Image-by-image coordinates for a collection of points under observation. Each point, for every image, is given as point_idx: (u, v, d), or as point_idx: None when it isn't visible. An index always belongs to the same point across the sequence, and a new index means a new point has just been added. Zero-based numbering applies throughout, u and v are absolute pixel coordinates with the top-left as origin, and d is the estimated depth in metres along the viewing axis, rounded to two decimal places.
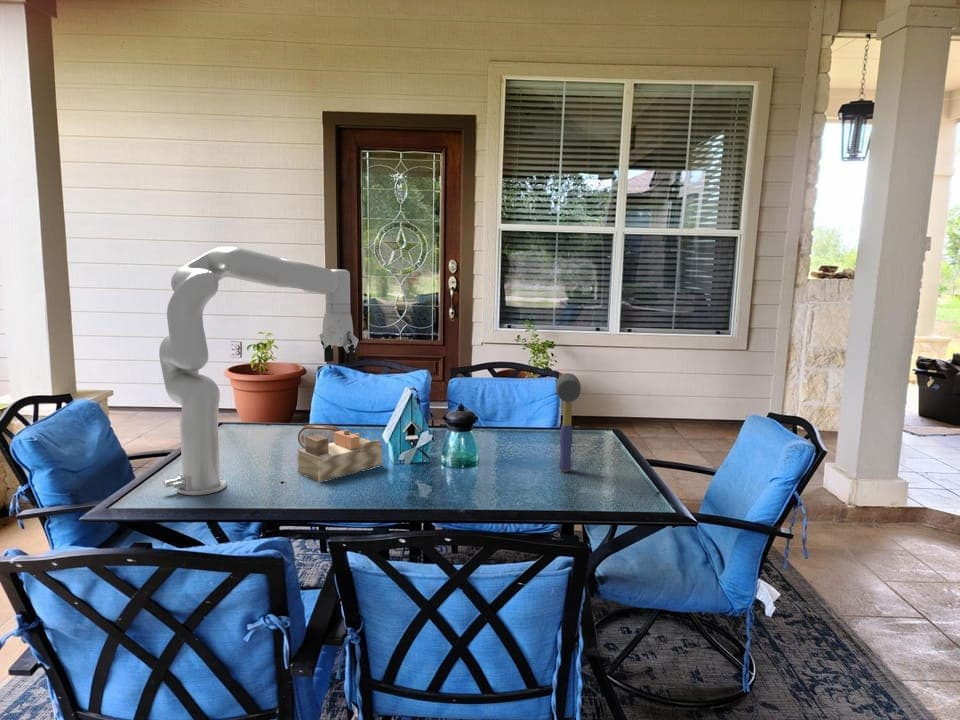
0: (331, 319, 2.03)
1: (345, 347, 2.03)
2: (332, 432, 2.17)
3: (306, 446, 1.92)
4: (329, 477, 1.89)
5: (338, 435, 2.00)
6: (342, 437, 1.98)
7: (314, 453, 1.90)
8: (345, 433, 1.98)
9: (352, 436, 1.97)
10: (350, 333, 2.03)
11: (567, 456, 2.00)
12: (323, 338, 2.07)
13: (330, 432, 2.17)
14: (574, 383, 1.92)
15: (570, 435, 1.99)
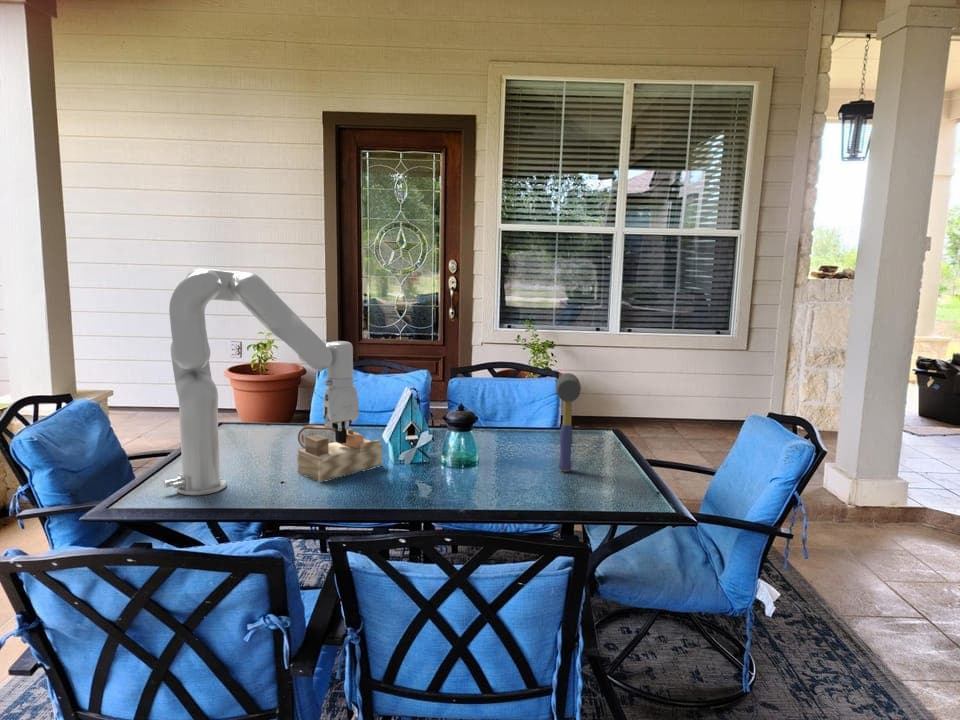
0: (345, 394, 1.94)
1: (347, 423, 1.97)
2: (332, 432, 2.17)
3: (306, 446, 1.92)
4: (329, 477, 1.89)
5: None
6: (347, 437, 1.99)
7: (314, 453, 1.90)
8: (349, 432, 1.99)
9: (356, 435, 1.98)
10: None
11: (567, 456, 2.00)
12: (334, 417, 1.92)
13: (330, 432, 2.17)
14: (574, 383, 1.92)
15: (570, 435, 1.99)
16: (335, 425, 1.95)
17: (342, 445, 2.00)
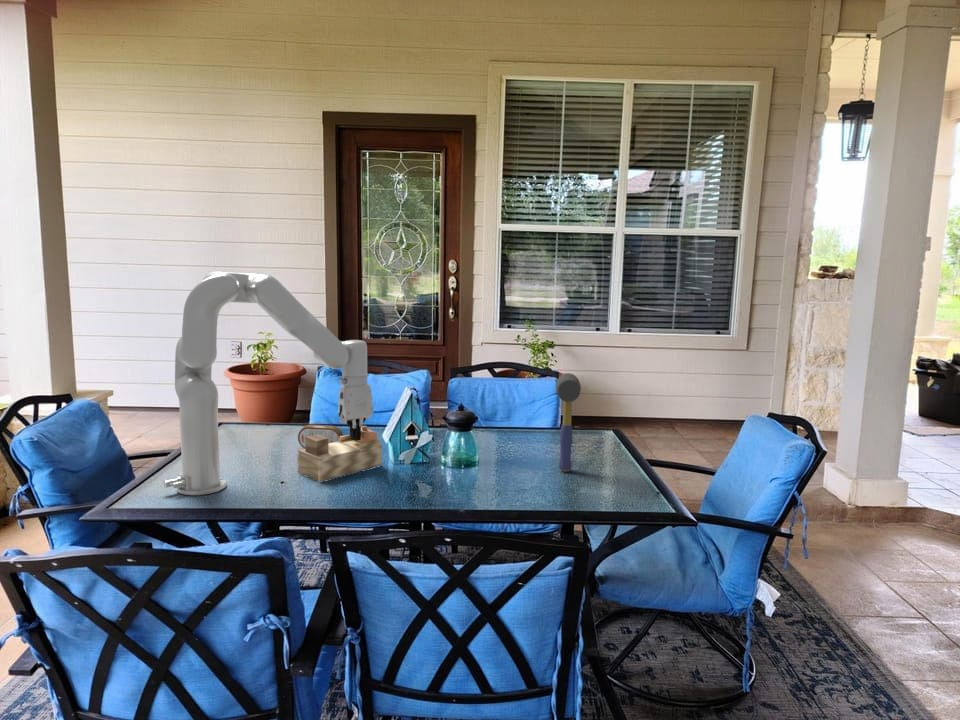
0: (360, 392, 1.98)
1: (361, 421, 2.01)
2: (332, 432, 2.17)
3: (306, 446, 1.92)
4: (329, 477, 1.89)
5: None
6: (361, 434, 2.03)
7: (314, 453, 1.90)
8: (363, 429, 2.03)
9: (370, 432, 2.01)
10: None
11: (567, 456, 2.00)
12: (349, 414, 1.96)
13: (330, 432, 2.17)
14: (574, 383, 1.92)
15: (570, 435, 1.99)
16: (350, 422, 1.99)
17: (342, 445, 2.00)
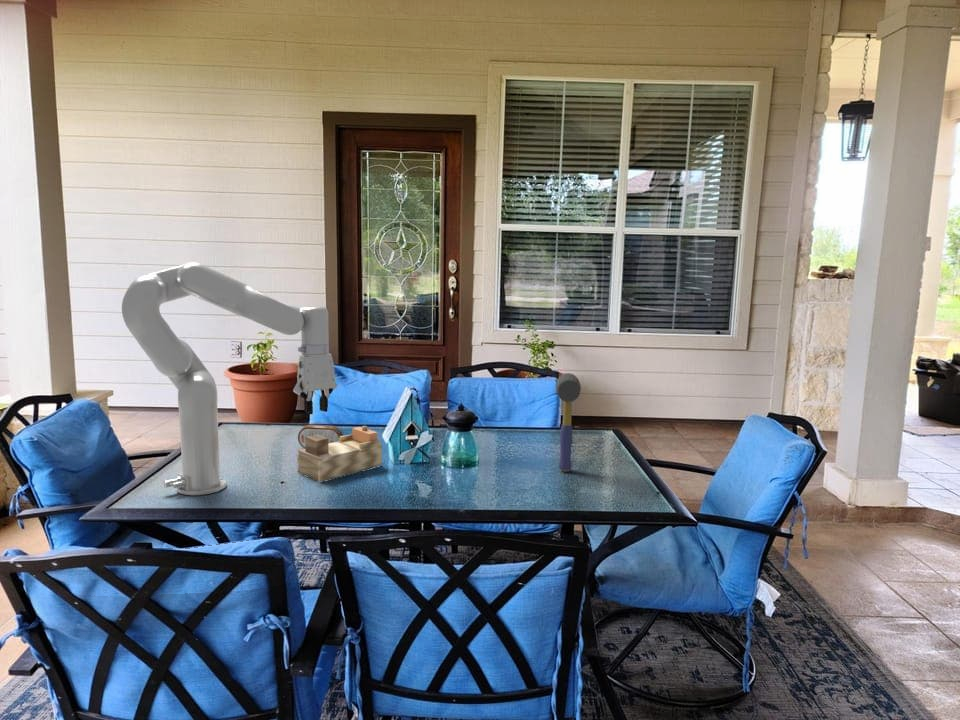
0: (320, 361, 1.86)
1: (327, 391, 1.91)
2: (332, 432, 2.17)
3: (306, 446, 1.92)
4: (329, 477, 1.89)
5: (356, 431, 2.04)
6: (361, 434, 2.03)
7: (314, 453, 1.90)
8: (363, 429, 2.03)
9: (370, 432, 2.01)
10: None
11: (567, 456, 2.00)
12: (308, 385, 1.84)
13: (330, 432, 2.17)
14: (574, 383, 1.92)
15: (570, 435, 1.99)
16: (303, 394, 1.86)
17: (342, 445, 2.00)
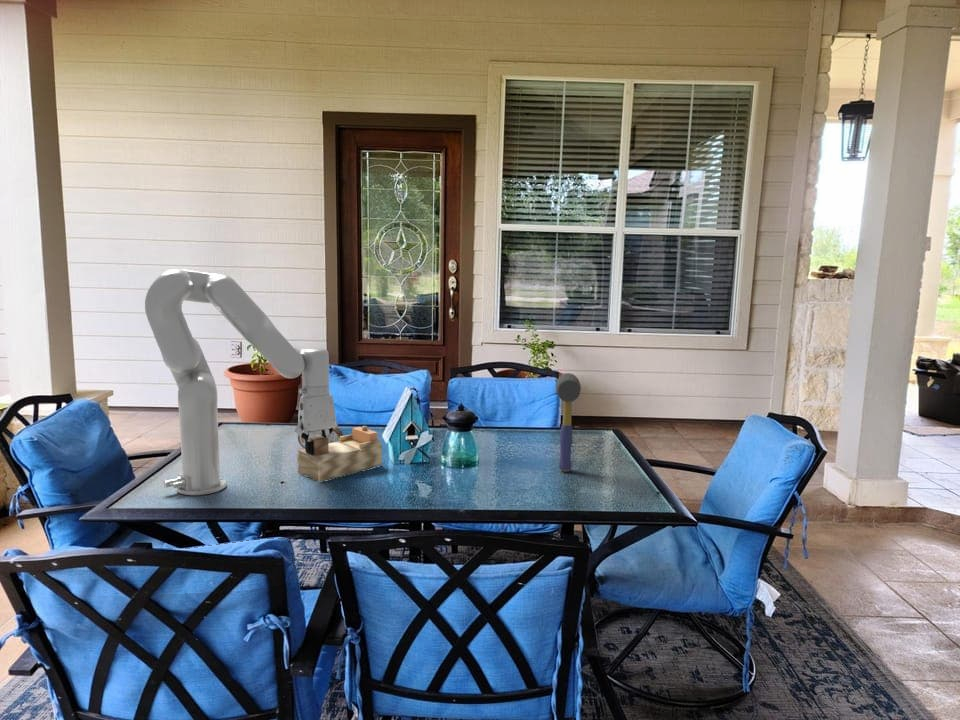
0: (321, 402, 1.88)
1: (327, 431, 1.93)
2: (332, 432, 2.17)
3: None
4: (329, 477, 1.89)
5: (356, 431, 2.04)
6: (361, 434, 2.03)
7: (314, 453, 1.90)
8: (363, 429, 2.03)
9: (370, 432, 2.01)
10: None
11: (567, 456, 2.00)
12: (309, 426, 1.86)
13: None
14: (574, 383, 1.92)
15: (570, 435, 1.99)
16: (305, 435, 1.88)
17: (342, 445, 2.00)
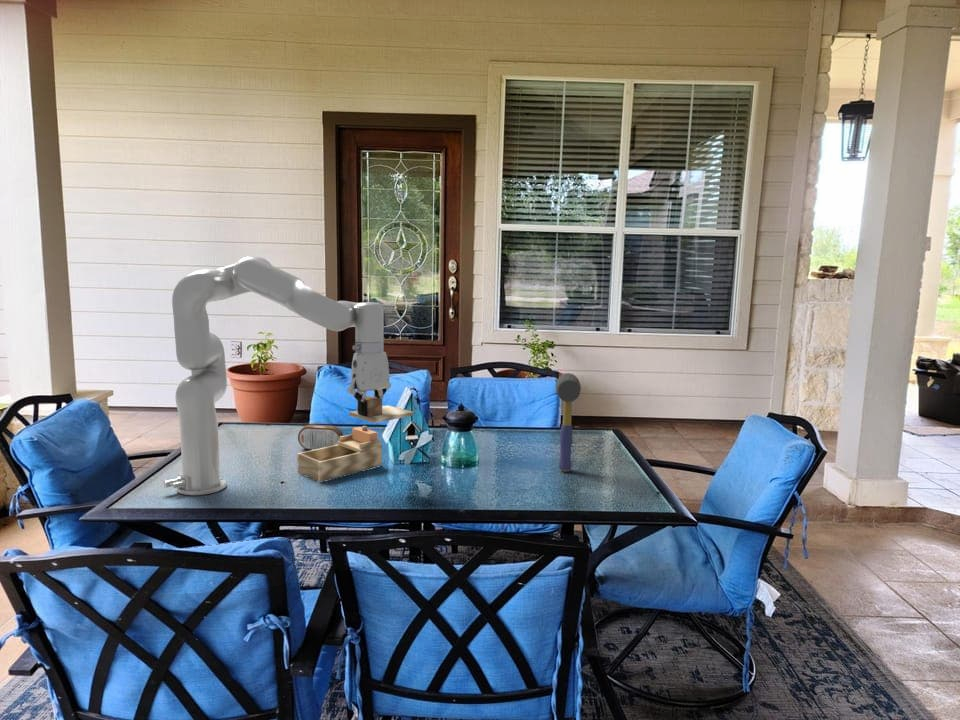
0: (375, 360, 1.77)
1: (381, 392, 1.81)
2: (332, 432, 2.17)
3: None
4: (329, 477, 1.89)
5: (356, 431, 2.04)
6: (361, 434, 2.03)
7: (368, 414, 1.78)
8: (363, 429, 2.03)
9: (370, 432, 2.01)
10: None
11: (567, 456, 2.00)
12: (363, 385, 1.75)
13: (330, 432, 2.17)
14: (574, 383, 1.92)
15: (570, 435, 1.99)
16: (358, 395, 1.76)
17: (394, 408, 1.89)
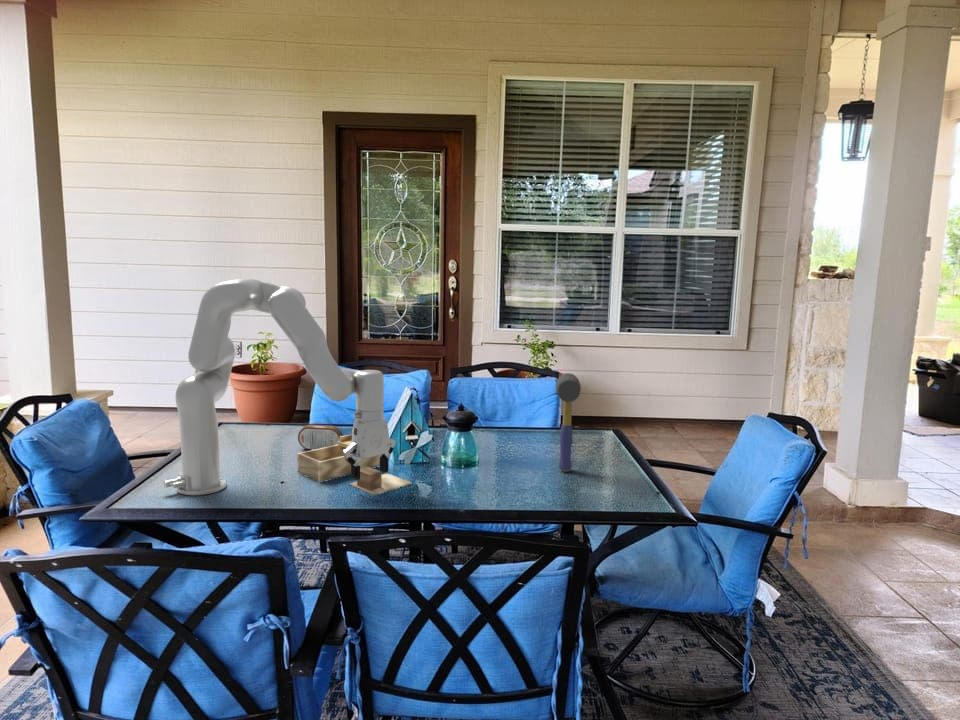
0: (376, 427, 1.79)
1: (386, 453, 1.85)
2: (332, 432, 2.17)
3: (358, 480, 1.84)
4: (329, 477, 1.89)
5: None
6: None
7: (367, 487, 1.81)
8: None
9: None
10: None
11: (567, 456, 2.00)
12: (363, 452, 1.78)
13: (330, 432, 2.17)
14: (574, 383, 1.92)
15: (570, 435, 1.99)
16: (351, 460, 1.77)
17: (393, 477, 1.91)
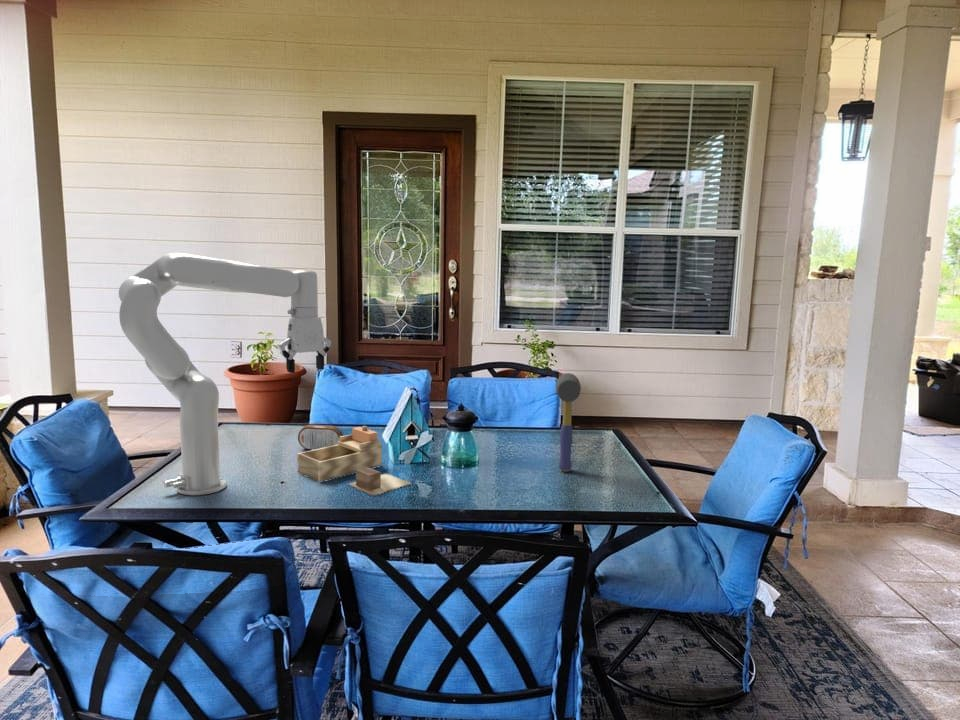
0: (309, 324, 1.90)
1: (322, 351, 1.96)
2: (332, 432, 2.17)
3: (357, 480, 1.83)
4: (329, 477, 1.89)
5: (356, 431, 2.04)
6: (361, 434, 2.03)
7: (366, 488, 1.81)
8: (363, 429, 2.03)
9: (370, 432, 2.01)
10: None
11: (567, 456, 2.00)
12: (297, 346, 1.89)
13: (330, 432, 2.17)
14: (574, 383, 1.92)
15: (570, 435, 1.99)
16: (285, 353, 1.88)
17: (392, 477, 1.91)
